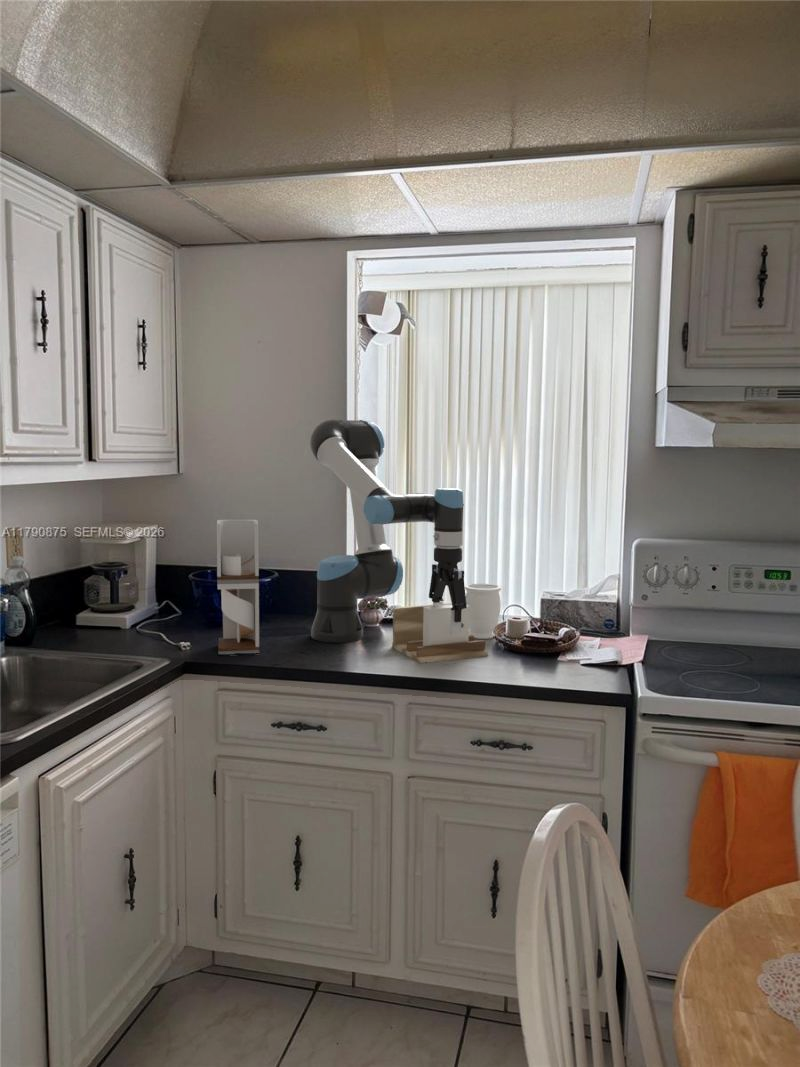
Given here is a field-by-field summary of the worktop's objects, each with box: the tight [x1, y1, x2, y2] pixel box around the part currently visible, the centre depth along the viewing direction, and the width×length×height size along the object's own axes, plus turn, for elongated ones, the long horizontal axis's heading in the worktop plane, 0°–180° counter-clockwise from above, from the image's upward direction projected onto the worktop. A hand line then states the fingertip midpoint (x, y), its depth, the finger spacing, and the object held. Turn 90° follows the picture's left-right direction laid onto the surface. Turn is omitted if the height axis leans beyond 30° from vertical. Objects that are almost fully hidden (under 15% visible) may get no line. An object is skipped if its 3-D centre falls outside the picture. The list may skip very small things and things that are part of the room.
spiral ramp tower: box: [216, 519, 260, 654], centre depth 215 cm, size 11×11×35 cm
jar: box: [464, 583, 502, 640], centre depth 235 cm, size 11×10×15 cm
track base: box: [391, 602, 489, 664], centre depth 217 cm, size 18×20×11 cm
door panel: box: [423, 605, 469, 646], centre depth 213 cm, size 4×12×12 cm, turn 115°
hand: (446, 629), depth 214 cm, fingers open, 9 cm apart
